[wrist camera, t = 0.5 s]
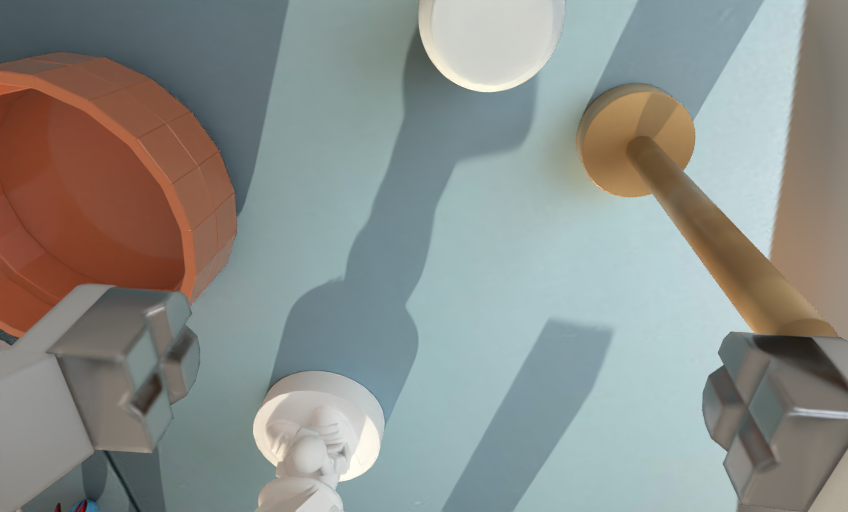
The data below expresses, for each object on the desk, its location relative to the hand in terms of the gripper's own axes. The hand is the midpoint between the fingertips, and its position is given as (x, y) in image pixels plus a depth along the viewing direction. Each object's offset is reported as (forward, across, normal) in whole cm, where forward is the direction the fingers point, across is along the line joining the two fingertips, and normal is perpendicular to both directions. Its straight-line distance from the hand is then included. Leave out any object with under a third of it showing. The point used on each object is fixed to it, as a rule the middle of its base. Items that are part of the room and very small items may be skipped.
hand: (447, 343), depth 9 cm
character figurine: (+21, +8, +26) cm, 34 cm away
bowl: (+22, +20, +9) cm, 31 cm away
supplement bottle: (+22, -1, -2) cm, 22 cm away
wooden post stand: (+22, -8, +4) cm, 23 cm away
